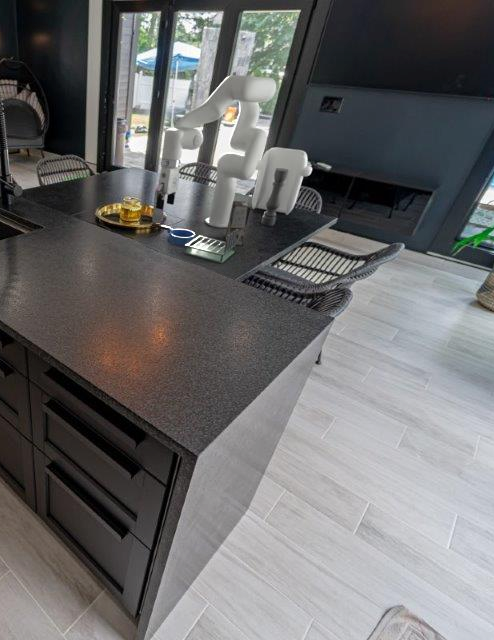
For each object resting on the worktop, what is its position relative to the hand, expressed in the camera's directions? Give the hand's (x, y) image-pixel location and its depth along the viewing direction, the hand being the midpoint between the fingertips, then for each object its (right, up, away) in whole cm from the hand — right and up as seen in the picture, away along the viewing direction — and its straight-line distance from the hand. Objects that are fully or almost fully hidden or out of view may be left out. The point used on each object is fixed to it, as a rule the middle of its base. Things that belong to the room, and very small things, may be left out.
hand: (164, 206), depth 172 cm
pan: (+4, -12, +6) cm, 14 cm away
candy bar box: (0, 0, +23) cm, 23 cm away
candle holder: (+55, 0, +26) cm, 61 cm away
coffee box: (+31, -14, +5) cm, 34 cm away
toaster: (+65, +13, +45) cm, 81 cm away
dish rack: (+17, -21, -7) cm, 28 cm away
